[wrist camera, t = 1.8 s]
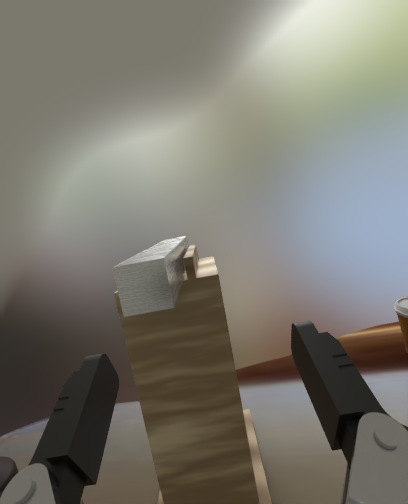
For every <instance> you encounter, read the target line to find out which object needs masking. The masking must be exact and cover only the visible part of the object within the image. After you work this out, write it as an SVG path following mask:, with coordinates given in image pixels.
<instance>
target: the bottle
mask: <svg viewBox="0 0 408 504" xmlns="http://www.w3.org/2000/svg"><path fill="white" fill-rule="evenodd" d="M17 473H18V469H17V466H16V463H15V462H14V461H13V460H12V459H11V458H9V457H0V492H1V491H2V490H4V489H5V488H6V486H7V485H8V483H9V482H10V481H11V480H12V478H13V477H14V476H15V475H16V474H17Z"/></svg>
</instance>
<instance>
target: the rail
mask: <svg viewBox="0 0 408 504" xmlns="http://www.w3.org/2000/svg"><path fill="white" fill-rule="evenodd" d="M188 248H189V246H188V241H187V237H186V236H184V237H178V238H173V239H168V240H164V241H162V242H160V243H158V244H156V245H154V246H152V247H150V248H148V249H146V250H145V251H143V252H141V253H139V254H137V255H135V256H133V257H131V258H129V259H127V260H125V261H123V262H121V263H120V264H118V265H116V266H114V267H112V269H113V273H114V277H115V281H116V286H117V290H118V295H119V299H120V303H121V307H122V312H123V316H124V317H127V316H133V315H138V314H144V313H149V312H155V311H160V310H166V309H172V308H174V307H175V304H176V301H177V298H178V295H179V292H180V289H181V286H182V283H183V280H184V277H185V274H186V269H185V264H184V259H183V258H184V256H185V254H186V252H187V250H188Z"/></svg>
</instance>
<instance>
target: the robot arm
mask: <svg viewBox="0 0 408 504" xmlns="http://www.w3.org/2000/svg"><path fill="white" fill-rule="evenodd" d="M291 350H292V355H293V359H294V361H295V364H296V366H297V369H298V371H299V373H300V376H301V378H302V380H303V383H304V385H305V387H306V390H307V392H308V395H309V397H310V399H311V402H312V404H313V406H314V409H315V411H316V413H317V416H318V418H319V420H320V423H321V425H322V428H323V430H324V432H325V435H326V437H327V439H328V442H329V444H330V446H331V449H332V450H339V449H342V451H343V453H344V456H345V458H346V460H347V466H346V472H345V479H344V485H343V491H342V498H341V504H408V427H406V426H404V425H402V424H400V423H399V422H398V421H397V420H395V419H393V418H392V417H391V416H389V415H388V414H387V413H386V412H385V411H384V409H383V408H382V407H381V405H380V404H379V402H378V401H377V399H376V398H375V396H374V395H373V393H372V392H371V390H370V389H369V387H368V385H367V384H366V382H365V381H364V379H363V378H362V376H361V375H360V373H359V372H358V370H357V368H356V367H355V366H354V365H353V362H352V361H351V359H350V358H349V356H347V353H346V351H345V350H344V348H343V347H342V345H341V344H340V342H339V341H338V340H337V339H335V338H334V337H333V336H332V335H330V334H329V333H328V332H324V333H318V331H317V329H316V328H315V326H314V324H313V323H312V322H311V321H306V322H300V323H294V324H292V333H291ZM118 388H119V378H118V375H117V372H116V371H115V369H114V367H113V365H112V363H111V362H110V360H109V358H108V356H107V355H106V354H99V355H92V356H87V357H86V358H85V359H84V361H83V363H82V366H81V368H80V371H77V372H74V373H73V374H72V375H71V377H70V378H69V379H68V380H67V382H66V383H65V384H64V386H63V389H62V391H61V393H60V396H59V400H58V401H57V402H56V405H55V407H54V409H53V410H54V411H53V413H52V414H51V416H50V419H49V421H48V423H47V425H46V428H45V430H44V432H43V435H42V437H41V439H40V442H39V444H38V446H37V449H36V451H35V453H34V455H33V458H32V460H31V462H30V463H29V465H28V466H27V467H25V468H24V469H22V470H21V471H20V472H19V473H17V474H16V475H15V476H14V477H13V478H12V480H11V481H10V482H9V483H8V485H7V486H6V488H5V489H4V490H2V491H1V492H0V504H83V501H82V499H81V497H82V493H83V489H84V486H88V485H94V484H96V482H97V478H98V473H99V469H100V465H101V461H102V456H103V452H104V448H105V444H106V440H107V435H108V431H109V427H110V423H111V418H112V414H113V410H114V406H115V401H116V397H117V392H118Z"/></svg>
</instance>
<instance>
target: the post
mask: <svg viewBox="0 0 408 504" xmlns="http://www.w3.org/2000/svg"><path fill="white" fill-rule="evenodd" d="M183 259H184V264H185V269H186V274H185V277H184V280H183V283H182V286H181V289H180V292H179V295H178V298H177V301H176V304H175V307H174V308H172V309H166V310H160V311H155V312H149V313H144V314H138V315H133V316H127V317H124V316H123V312H122V307H121V303H120V299H119V295H118V290H117V291H116V292H115V293H114V295H115V299H116V304H117V308H118V312H119V317H120V320H121V325H122V329H123V333H124V338H125V342H126V346H127V350H128V354H129V359H130V363H131V367H132V372H133V376H134V379H135V384H136V388H137V392H138V397H139V401H140V406H141V410H142V414H143V418H144V423H145V427H146V431H147V435H148V439H149V444H150V448H151V452H152V456H153V461H154V465H155V469H156V473H157V478H158V482H159V486H160V492H159V499H158V504H272V502H271V498H270V494H269V490H268V486H267V481H266V477H265V473H264V469H263V465H262V461H261V457H260V452H259V448H258V444H257V440H256V436H255V432H254V428H253V423H252V419H251V415H250V411H249V409H248V410H243V409H242V403H241V398H240V392H239V387H238V381H237V376H236V370H235V365H234V359H233V354H232V348H231V342H230V337H229V331H228V326H227V320H226V315H225V309H224V304H223V299H222V292H221V287H220V282H219V276H218V272H217V268H216V265H215V261H214V257H213V256H212V257H207V258H202V259H199V258H198V254H197V248H196V245H191V246H189V248H188V250H187V252H186V254H185V256H184V258H183Z"/></svg>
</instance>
